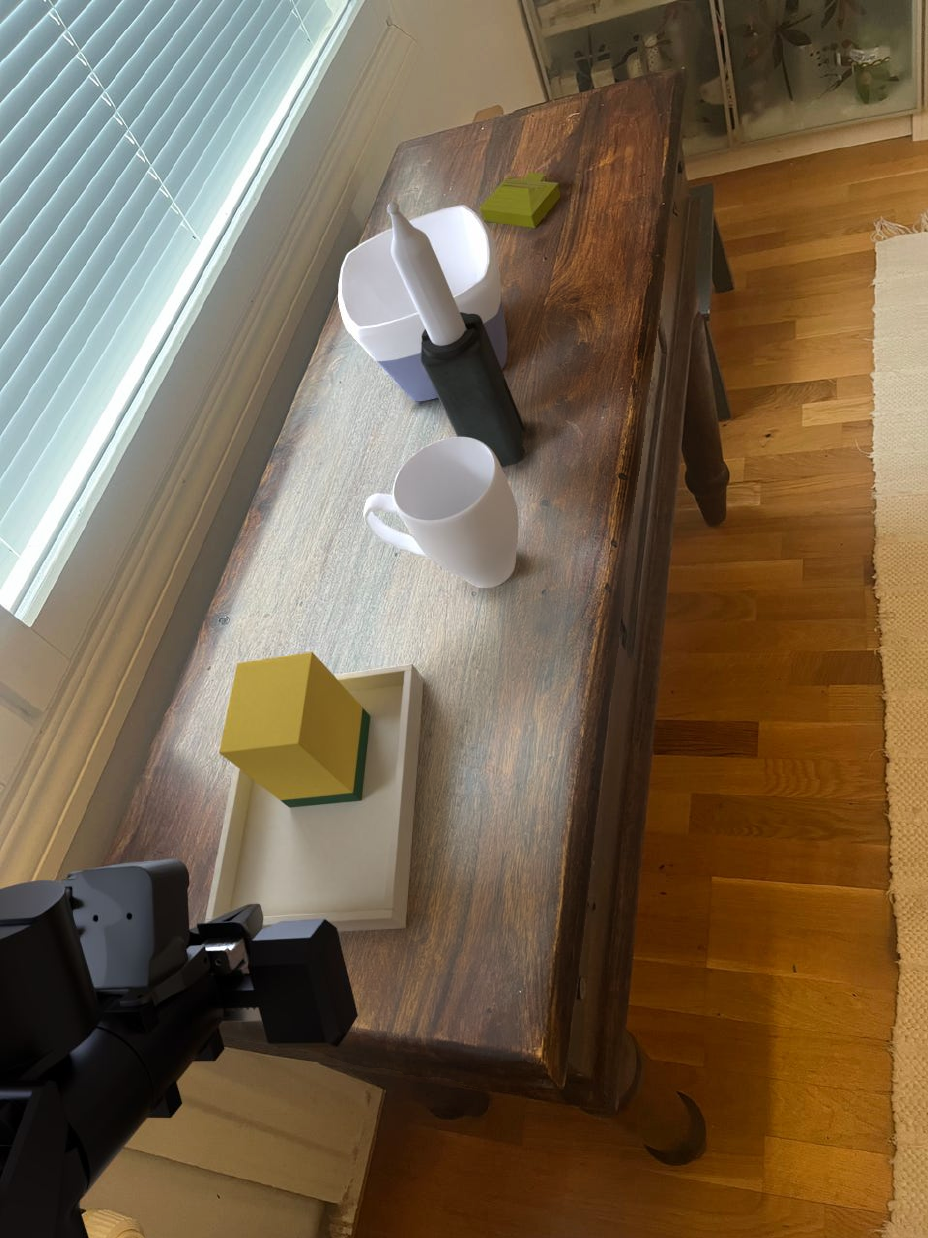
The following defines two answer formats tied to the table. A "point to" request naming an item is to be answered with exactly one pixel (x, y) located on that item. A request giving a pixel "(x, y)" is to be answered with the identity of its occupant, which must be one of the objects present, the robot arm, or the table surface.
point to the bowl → (387, 309)
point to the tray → (332, 827)
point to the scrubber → (296, 731)
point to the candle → (457, 350)
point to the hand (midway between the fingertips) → (256, 910)
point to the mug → (453, 511)
